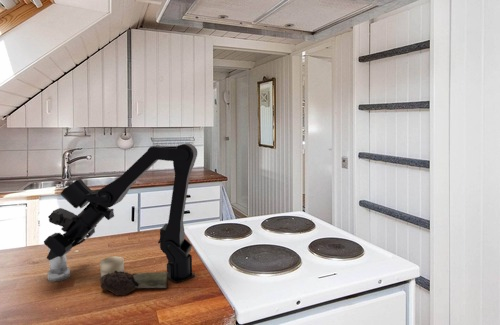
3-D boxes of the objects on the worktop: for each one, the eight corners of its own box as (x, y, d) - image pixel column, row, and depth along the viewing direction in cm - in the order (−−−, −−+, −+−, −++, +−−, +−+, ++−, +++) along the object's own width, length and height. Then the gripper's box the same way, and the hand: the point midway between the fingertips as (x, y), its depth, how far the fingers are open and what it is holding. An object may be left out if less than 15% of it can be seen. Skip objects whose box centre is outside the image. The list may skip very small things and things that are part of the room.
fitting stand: (120, 270, 106) (119, 254, 106) (128, 277, 101) (127, 260, 101) (97, 276, 102) (96, 260, 101) (104, 284, 97) (104, 267, 96)
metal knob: (67, 271, 105) (64, 233, 104) (72, 277, 101) (69, 238, 100) (45, 276, 102) (43, 237, 100) (50, 283, 97) (47, 242, 96)
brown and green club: (169, 283, 98) (168, 264, 97) (166, 295, 91) (165, 275, 90) (104, 286, 95) (103, 267, 95) (96, 299, 89) (95, 278, 88)
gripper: (83, 193, 108) (50, 227, 109) (48, 207, 90) (10, 248, 91) (109, 217, 109) (76, 251, 110) (80, 236, 91) (41, 276, 92)
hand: (52, 255), depth 101 cm, fingers closed on metal knob, 4 cm apart
